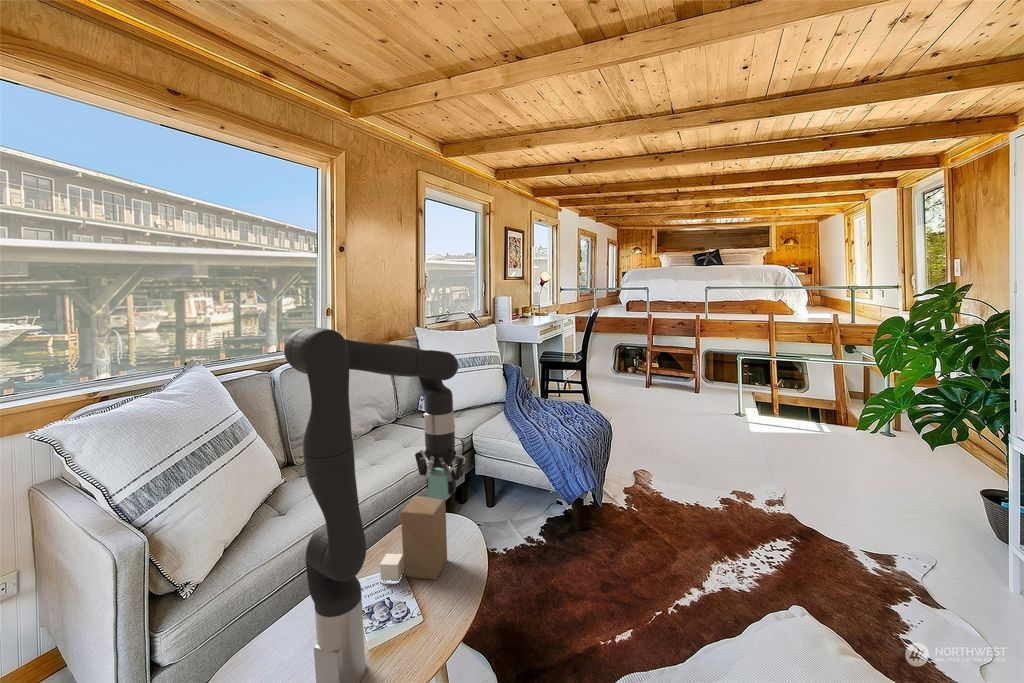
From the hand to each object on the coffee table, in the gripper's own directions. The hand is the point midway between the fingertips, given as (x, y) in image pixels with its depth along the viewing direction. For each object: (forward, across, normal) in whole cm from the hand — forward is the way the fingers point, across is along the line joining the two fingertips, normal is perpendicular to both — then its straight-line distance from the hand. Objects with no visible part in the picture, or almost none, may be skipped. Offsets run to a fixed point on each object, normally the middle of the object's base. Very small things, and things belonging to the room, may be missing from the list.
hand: (441, 492), depth 114 cm
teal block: (+1, 0, 0) cm, 1 cm away
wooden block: (+31, -12, +11) cm, 34 cm away
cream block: (+30, -19, +4) cm, 36 cm away
